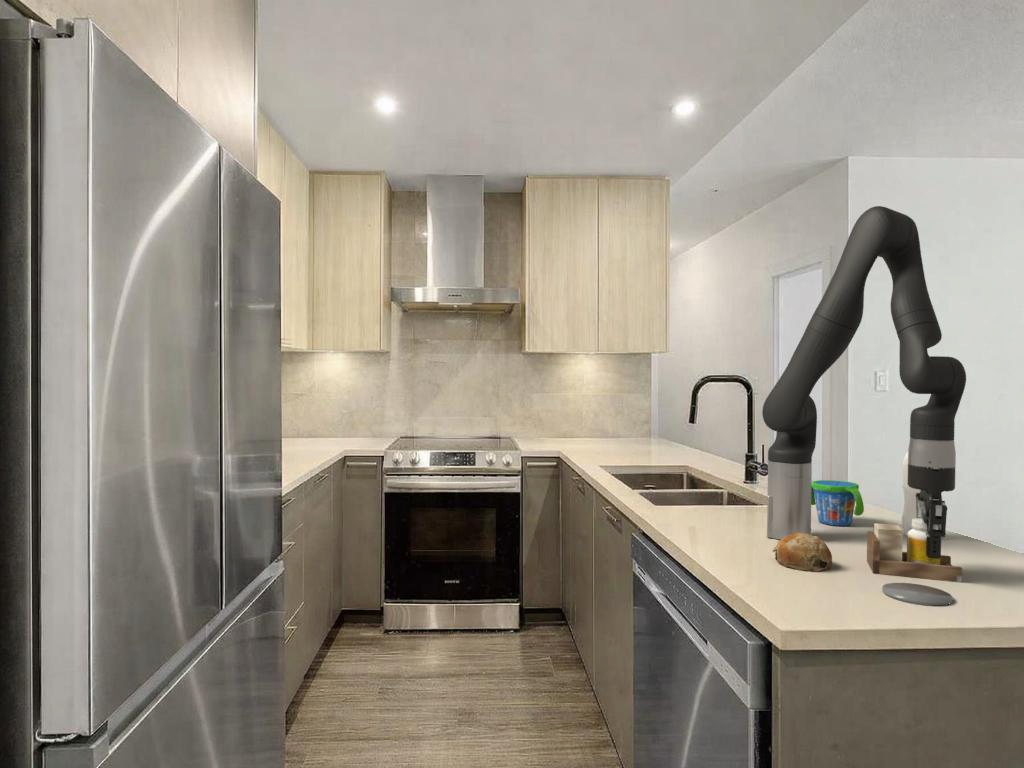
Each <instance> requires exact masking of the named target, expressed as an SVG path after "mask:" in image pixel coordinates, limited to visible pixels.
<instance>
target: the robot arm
mask: <svg viewBox="0 0 1024 768" xmlns="http://www.w3.org/2000/svg"><path fill="white" fill-rule="evenodd" d="M918 230H919V229H918V227H917V224H916V222H915V221H914V219H913V218H912V217H911V216H908V215H907V214H904V213H902V212H899V211H896V210H894V209H892V208H889V207H886V206H881V205H876V206H872V207H870V208H868V209H866V210H865V211H864V212H863V213H862V214H861V215H860V216H859V217H858V219H857V220H856V222H855V223H854V224H853V227H852V229H851V232H850V234H849V236H848V238H847V241H846V244H845V246H844V248H843V251H842V254H841V256H840V259H839V262H838V263H837V266H836V268H835V271H834V273H833V275H832V277H831V279H830V281H829V283H828V285H827V287H826V289H825V291H824V294H823V295H822V298H821V300H820V301H819V303H818V305H817V307H816V308H815V311H814V312H813V313H812V316H811V318H810V320H809V322H808V323H807V326H806V328H805V330H804V332H803V334H802V337H801V338H800V340H799V341H798V344H797V346H796V348H795V349H794V352H793V353H792V356H791V358H790V360H789V362H788V364H787V366H786V367H785V370H784V371H783V372H782V374H781V376H780V377H779V379H778V381H776V383H775V385H774V386H773V388H772V389H771V391H770V392H769V394H768V395H767V397H766V399H765V401H764V403H763V406H762V410H761V411H762V419H763V422H764V424H765V425H766V427H767V428H768V429H770V430H772V431H774V432H776V437H775V440H774V442H773V443H772V445H771V446H770V447H769V448H768V451H767V498H766V499H767V503H766V504H767V505H766V507H767V509H766V510H767V511H766V512H767V513H766V514H767V515H766V517H767V518H766V519H767V520H766V537H767V538H772V539H775V540H779V541H780V540H782V539H783V538H784V537H786V536H788V535H791V534H794V533H807V534H810V535H812V505H811V484H812V482H813V481H812V475H813V474H812V473H813V472H812V470H813V469H812V468H813V465H812V462H813V459H812V458H813V454H814V451H815V448H816V444H817V443H816V442H817V429H818V428H817V426H818V425H817V424H818V413H817V405H816V402H815V401H814V399H813V398H812V397H811V393H812V391H813V389H814V388H815V386H816V383H817V382H819V380H820V379H821V377H822V376H823V375H824V374H825V373H826V372H827V371H828V370H829V369H830V368H831V367H832V366H833V365H834V364H835V363H836V362H837V360H838V359H840V357H841V356H842V355H843V353H845V351H846V350H847V348H848V347H849V345H850V344H851V342H852V341H853V340H852V339H853V338H854V336H855V334H856V333H857V331H858V329H859V327H860V325H861V322H862V319H863V315H864V306H865V305H864V301H865V286H866V281H867V278H868V276H869V274H870V272H871V270H872V268H873V266H874V264H875V262H876V260H877V258H882V259H883V260H884V262H885V265H886V266H887V268H888V270H889V273H890V276H891V280H892V292H891V297H890V315H891V319H892V322H893V325H894V328H895V332H896V335H897V338H898V341H899V365H898V366H899V370H898V371H899V378H900V380H901V383H902V384H903V386H904V387H905V389H907V390H908V391H909V392H911V393H912V394H916V395H930V396H929V400H928V402H927V403H926V404H925V405H922V406H919V407H916V408H913V409H912V410H911V412H910V419H909V442H908V449H907V452H908V486H909V487H911V488H914V489H918V490H920V493H916V515H917V518H922V523H923V524H924V525H925V527H926V533H925V534H926V556H927V557H928V558H935V559H939V558H940V557H941V555H942V539H943V538H945V537H946V536H947V535H946V528H947V514H948V506H947V505H946V501H945V500H943V496H942V493H944V492H952V491H954V490H955V489H956V461H957V460H956V459H957V458H956V445H955V444H956V443H955V425H956V424H955V419H956V416H957V412H958V410H959V407H960V404H961V401H962V398H963V395H964V391H965V389H966V384H967V372H966V370H965V367H964V365H963V363H962V362H961V361H960V360H959V359H957V358H956V357H951V356H943V355H942V356H939V355H937V356H935V355H934V356H933V355H932V356H931V355H929V352H928V349H930V348H933V347H934V346H936V345H937V344H940V342H941V340H942V337H943V334H942V330H941V327H940V323H939V321H938V318H937V314H936V312H935V309H934V306H933V304H932V300H931V298H930V294H929V291H928V285H927V283H926V276H925V271H924V264H923V259H922V258H923V257H922V251H921V244H920V237H919V231H918ZM933 525H936V526H938V530H935V529H933Z"/></svg>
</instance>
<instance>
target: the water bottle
mask: <svg viewBox="0 0 1024 768" xmlns="http://www.w3.org/2000/svg"><path fill="white" fill-rule="evenodd" d="M902 468H903V469H902V489H903V497H904V498H903V500H904V501H903V502H904V503H903V512H902V515H901V527H902V528H901V529H902V531H903V533H904V535H905V536H906V537H907V533H908V531H909V530H911V529H913V527H912V519H915V518H917V515H916V493H920V490H918V489H914V488H911V487H909V486H908V451H907V452H906V453H905V455H904V457H903V460H902ZM936 530H938V526H937V528H936Z"/></svg>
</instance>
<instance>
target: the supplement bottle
mask: <svg viewBox="0 0 1024 768" xmlns="http://www.w3.org/2000/svg"><path fill="white" fill-rule="evenodd" d="M912 527H913V529H911V530H909V531H908V533H907V536H906V552H907V562H914V563H925V564H935V565H940V558H939V559H935V558H928V557H927V556H926V534H925V533H926V527H925V525H924V524H923V523H922V518H915V519H912ZM936 528H937V526H936V525H933V529H935V530H936Z"/></svg>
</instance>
